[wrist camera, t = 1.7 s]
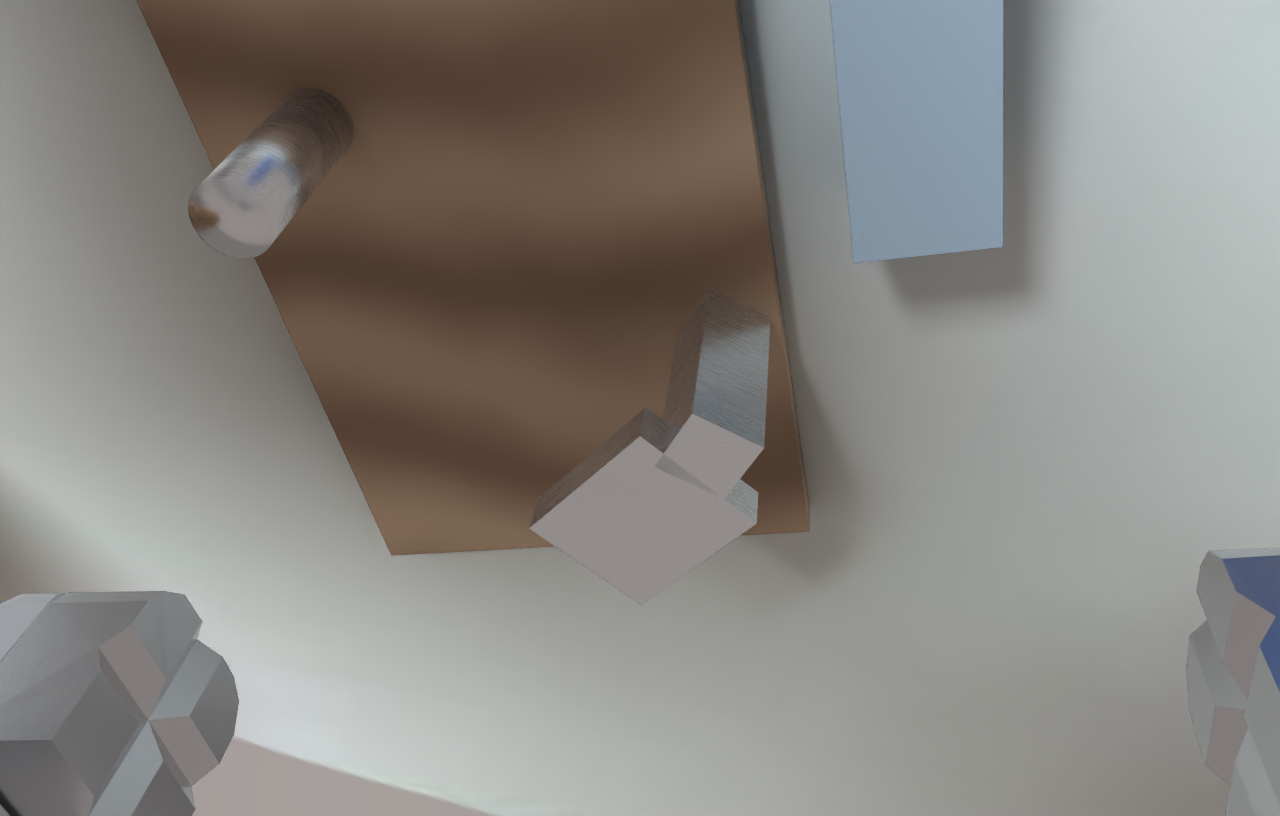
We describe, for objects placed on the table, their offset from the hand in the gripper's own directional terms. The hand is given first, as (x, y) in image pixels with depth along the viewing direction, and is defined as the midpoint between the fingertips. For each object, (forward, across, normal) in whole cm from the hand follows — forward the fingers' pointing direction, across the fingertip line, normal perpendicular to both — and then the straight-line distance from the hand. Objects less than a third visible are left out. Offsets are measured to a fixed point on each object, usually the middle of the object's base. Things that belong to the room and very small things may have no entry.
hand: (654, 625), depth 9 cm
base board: (+22, +8, +7) cm, 24 cm away
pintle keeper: (+21, +7, +8) cm, 23 cm away
